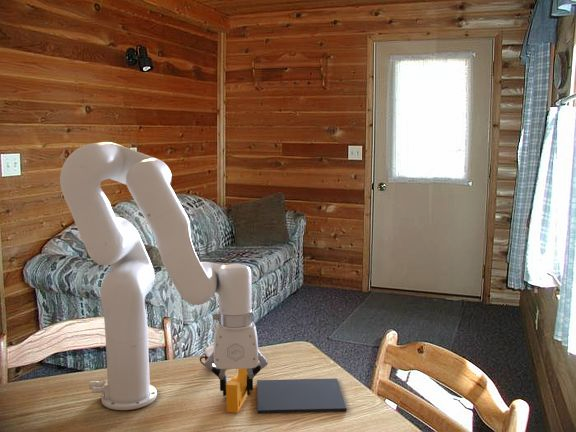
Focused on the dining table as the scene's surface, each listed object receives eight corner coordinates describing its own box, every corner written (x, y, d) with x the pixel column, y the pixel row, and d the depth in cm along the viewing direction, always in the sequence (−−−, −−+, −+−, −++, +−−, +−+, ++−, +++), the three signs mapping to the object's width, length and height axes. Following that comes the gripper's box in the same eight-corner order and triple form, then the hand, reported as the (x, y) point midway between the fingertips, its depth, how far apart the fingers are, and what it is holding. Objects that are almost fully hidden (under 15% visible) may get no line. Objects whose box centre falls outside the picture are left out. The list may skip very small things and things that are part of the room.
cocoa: (199, 372, 160) (198, 328, 158) (202, 362, 167) (201, 319, 165) (235, 372, 160) (235, 328, 158) (237, 363, 167) (237, 320, 165)
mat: (257, 413, 138) (257, 410, 138) (257, 383, 154) (257, 380, 154) (346, 411, 140) (346, 408, 139) (336, 381, 155) (337, 378, 155)
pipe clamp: (234, 388, 151) (233, 363, 150) (251, 389, 150) (251, 364, 149) (219, 411, 140) (218, 384, 139) (237, 412, 139) (237, 385, 138)
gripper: (196, 324, 138) (198, 401, 141) (273, 323, 139) (273, 399, 142) (199, 313, 145) (201, 387, 148) (272, 312, 146) (272, 385, 149)
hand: (236, 392), depth 145 cm, fingers closed on pipe clamp, 4 cm apart
